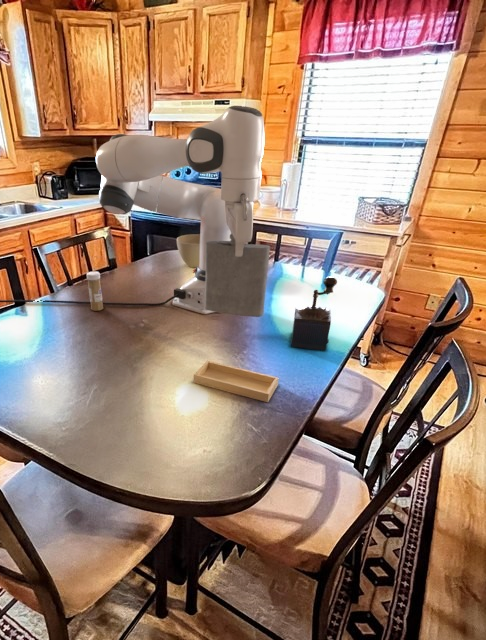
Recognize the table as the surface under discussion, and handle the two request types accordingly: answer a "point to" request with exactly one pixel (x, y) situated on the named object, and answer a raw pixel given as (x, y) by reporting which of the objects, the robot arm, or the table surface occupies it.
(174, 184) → the robot arm
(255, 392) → the flask stand
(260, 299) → the hip flask
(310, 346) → the dark brown coffee grinder
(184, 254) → the flower pot
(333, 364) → the table surface
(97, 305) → the sprinkles bottle
